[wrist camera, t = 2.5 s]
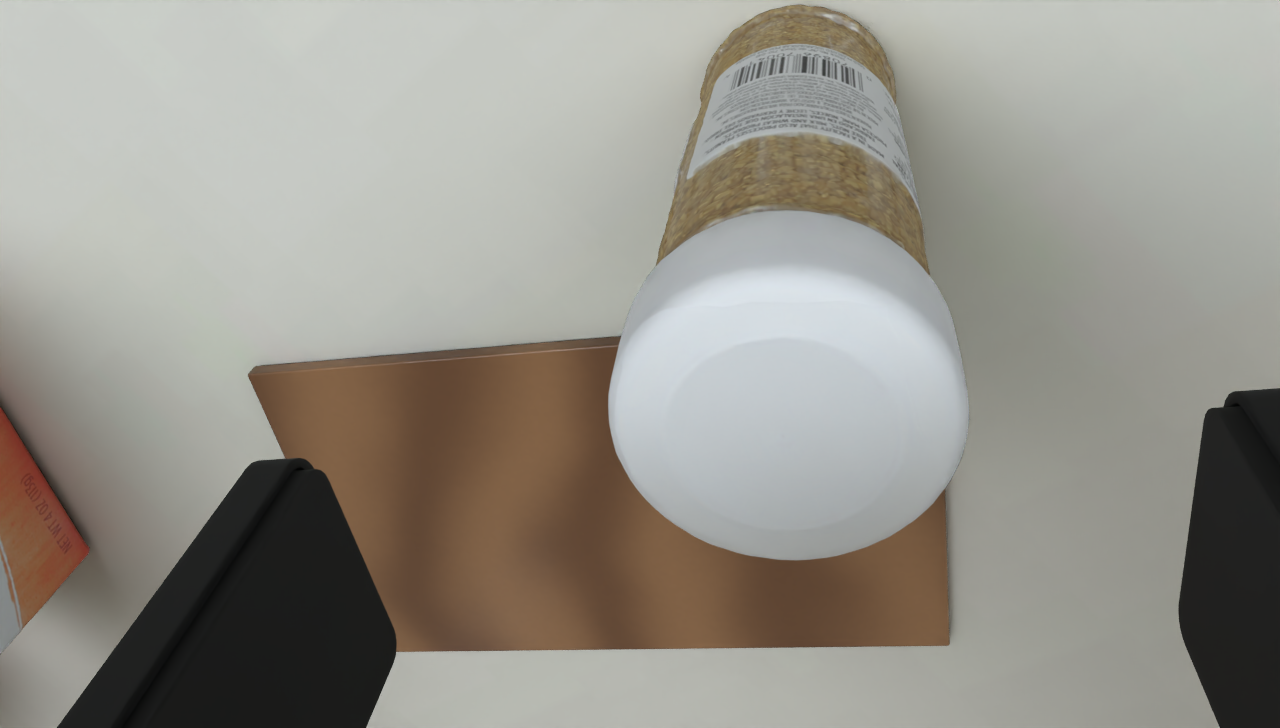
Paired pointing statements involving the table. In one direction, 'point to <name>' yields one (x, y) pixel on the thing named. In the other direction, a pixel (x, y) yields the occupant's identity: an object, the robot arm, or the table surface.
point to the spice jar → (792, 310)
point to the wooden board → (561, 517)
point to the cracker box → (30, 537)
